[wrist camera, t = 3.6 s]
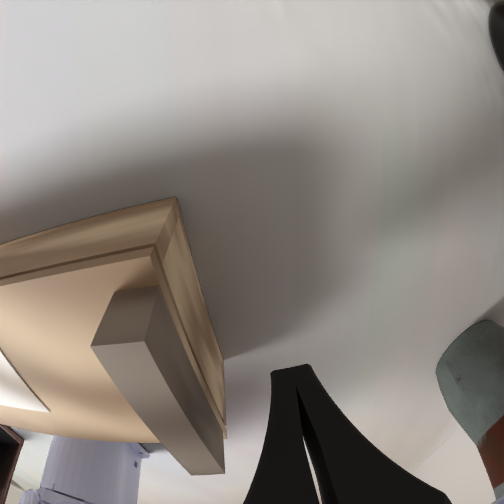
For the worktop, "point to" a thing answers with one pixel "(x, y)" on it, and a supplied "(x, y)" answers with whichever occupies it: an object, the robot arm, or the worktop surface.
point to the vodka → (478, 392)
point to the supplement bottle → (497, 31)
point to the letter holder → (8, 458)
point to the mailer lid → (105, 360)
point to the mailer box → (125, 240)
